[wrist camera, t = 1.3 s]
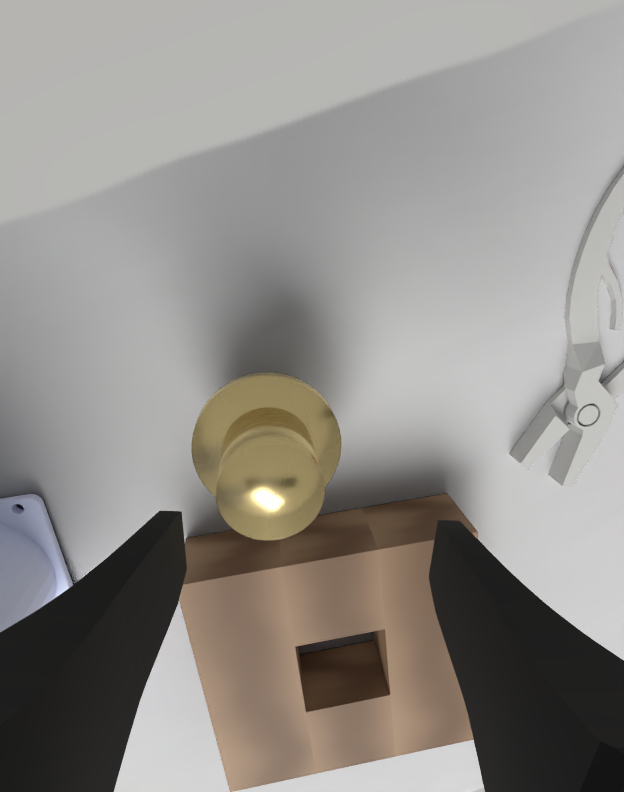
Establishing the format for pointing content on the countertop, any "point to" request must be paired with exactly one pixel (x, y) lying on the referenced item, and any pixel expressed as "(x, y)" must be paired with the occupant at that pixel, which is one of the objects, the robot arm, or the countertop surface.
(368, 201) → the countertop surface
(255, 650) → the hitch block
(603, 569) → the countertop surface
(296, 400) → the pin
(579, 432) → the pliers
